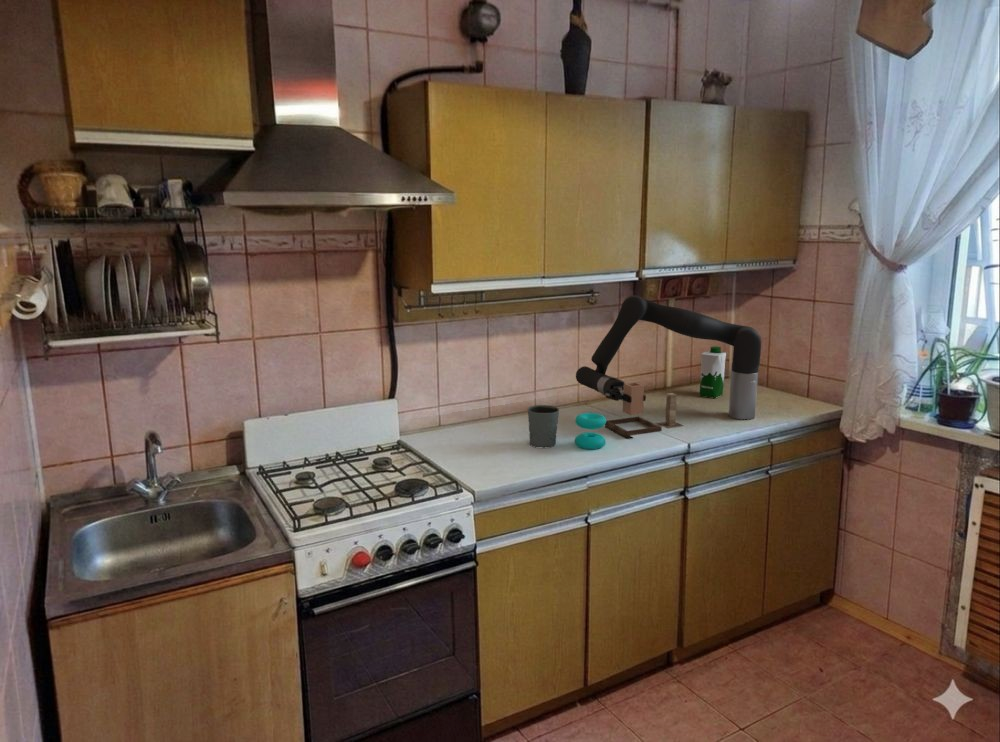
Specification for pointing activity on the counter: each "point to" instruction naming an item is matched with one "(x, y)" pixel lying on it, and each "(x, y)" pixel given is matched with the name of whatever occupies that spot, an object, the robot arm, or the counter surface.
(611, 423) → the tray
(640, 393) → the sleeve
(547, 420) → the grey tapered cup
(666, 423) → the post
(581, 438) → the donuts
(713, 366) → the milk carton
